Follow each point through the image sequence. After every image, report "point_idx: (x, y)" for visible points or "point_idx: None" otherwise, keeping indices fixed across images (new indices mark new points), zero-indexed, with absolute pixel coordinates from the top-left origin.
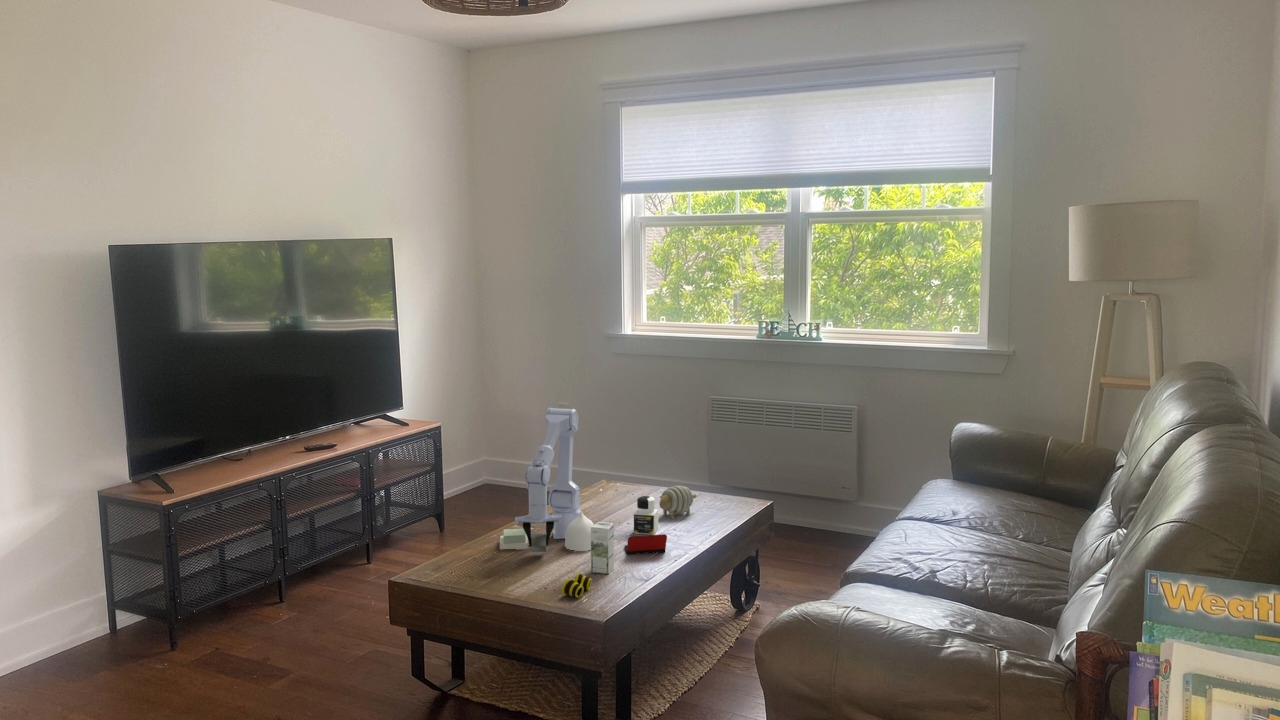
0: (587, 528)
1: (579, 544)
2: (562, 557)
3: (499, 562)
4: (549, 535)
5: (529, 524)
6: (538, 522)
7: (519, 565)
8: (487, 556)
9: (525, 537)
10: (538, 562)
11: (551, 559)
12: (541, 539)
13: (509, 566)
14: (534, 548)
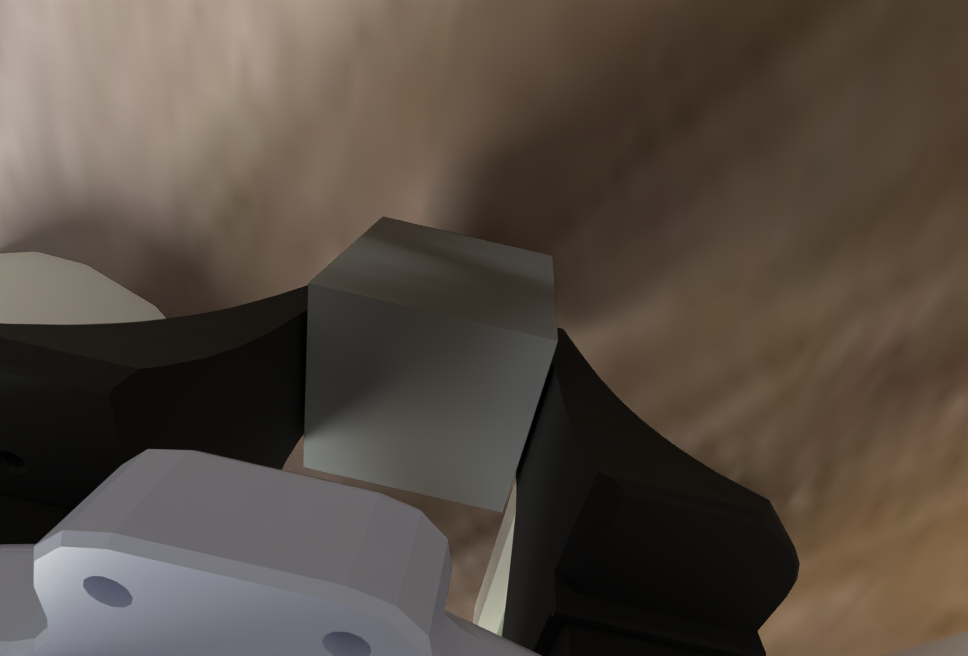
0: None
1: (17, 294)
2: (235, 158)
3: (923, 241)
4: (229, 312)
5: (581, 629)
6: (273, 471)
7: (766, 44)
8: (922, 438)
9: (499, 613)
10: (512, 80)
11: (353, 134)
12: (392, 290)
13: (901, 49)
14: (517, 265)
